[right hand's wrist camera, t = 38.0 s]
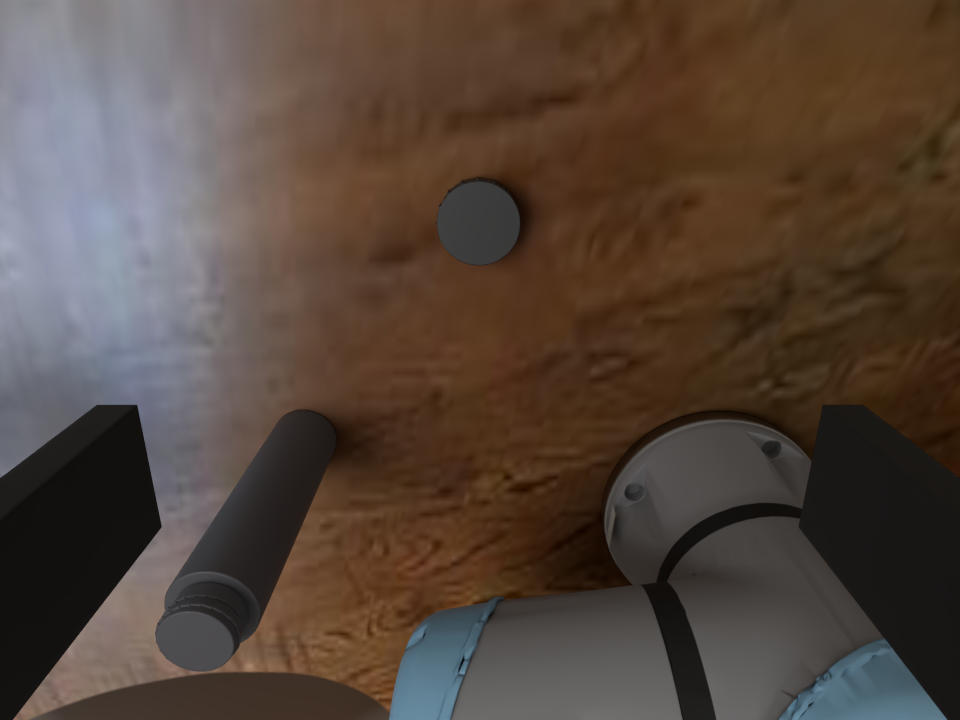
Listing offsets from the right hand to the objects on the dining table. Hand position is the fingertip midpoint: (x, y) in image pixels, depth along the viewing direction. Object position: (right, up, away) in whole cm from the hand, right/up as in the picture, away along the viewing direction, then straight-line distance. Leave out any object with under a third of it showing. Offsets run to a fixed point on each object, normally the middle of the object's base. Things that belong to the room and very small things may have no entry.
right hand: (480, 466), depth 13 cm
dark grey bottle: (-12, -3, +33) cm, 35 cm away
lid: (0, +10, +26) cm, 28 cm away
